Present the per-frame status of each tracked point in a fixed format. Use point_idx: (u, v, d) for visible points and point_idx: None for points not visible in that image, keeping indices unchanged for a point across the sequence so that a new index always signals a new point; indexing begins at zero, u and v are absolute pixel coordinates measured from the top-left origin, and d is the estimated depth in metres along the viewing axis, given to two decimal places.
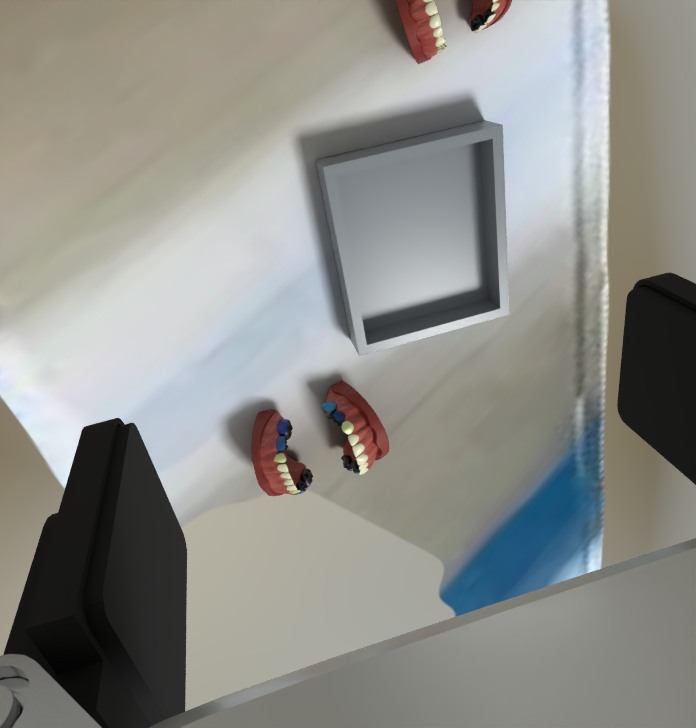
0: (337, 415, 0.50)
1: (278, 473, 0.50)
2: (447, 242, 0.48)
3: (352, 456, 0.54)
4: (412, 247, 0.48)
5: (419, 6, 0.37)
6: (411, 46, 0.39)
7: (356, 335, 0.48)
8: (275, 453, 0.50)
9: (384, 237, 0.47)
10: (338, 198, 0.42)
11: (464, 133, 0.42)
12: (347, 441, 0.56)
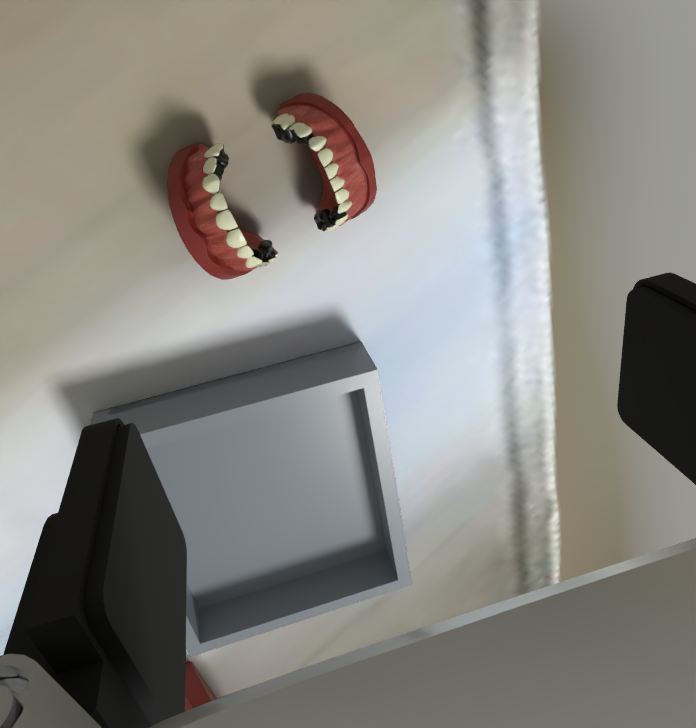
0: None
1: None
2: (318, 495, 0.33)
3: None
4: (265, 507, 0.33)
5: (207, 215, 0.22)
6: (205, 269, 0.23)
7: None
8: None
9: (219, 500, 0.32)
10: None
11: (317, 384, 0.27)
12: None
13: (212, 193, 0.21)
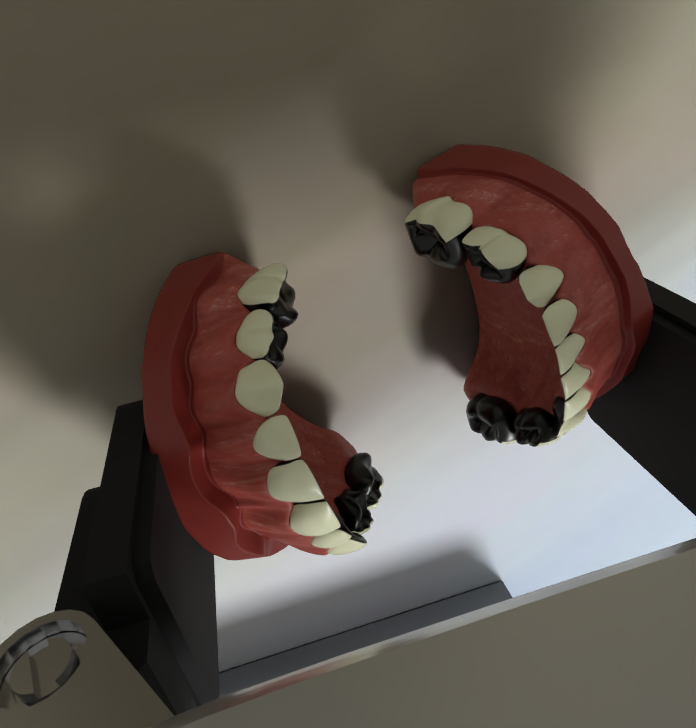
0: None
1: None
2: None
3: None
4: None
5: (243, 465, 0.08)
6: (229, 558, 0.10)
7: None
8: None
9: None
10: None
11: None
12: None
13: (261, 415, 0.08)
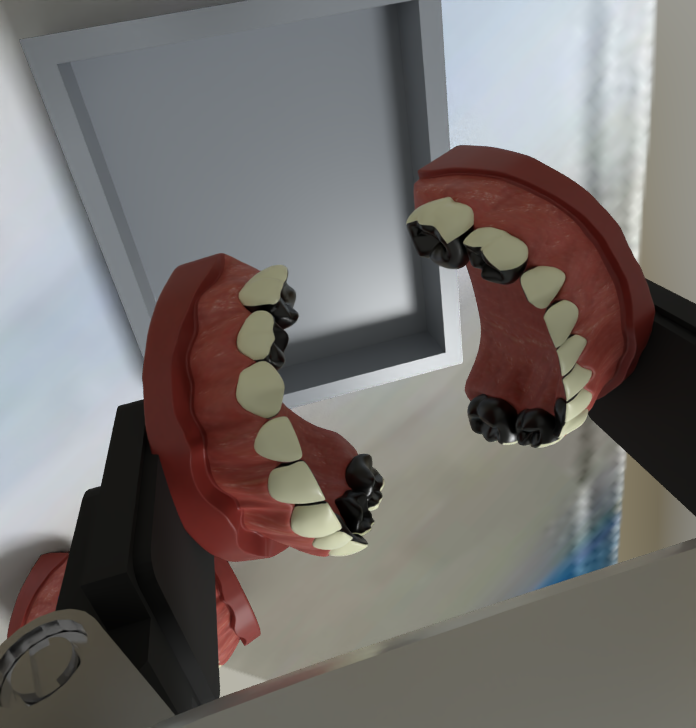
0: None
1: None
2: (344, 227, 0.25)
3: None
4: (276, 236, 0.25)
5: (244, 467, 0.08)
6: (230, 560, 0.10)
7: None
8: None
9: (215, 214, 0.24)
10: (72, 118, 0.19)
11: None
12: None
13: (262, 416, 0.08)
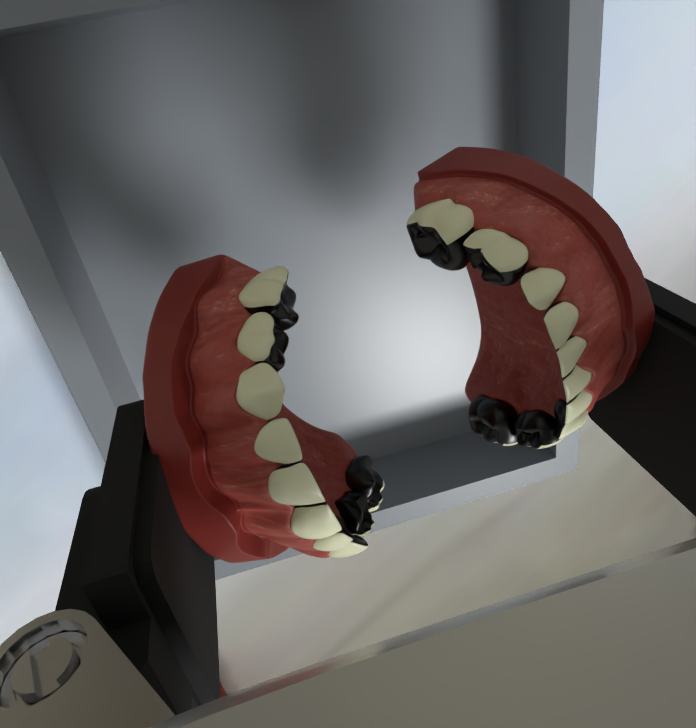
0: None
1: None
2: (415, 284, 0.17)
3: None
4: (316, 300, 0.17)
5: (244, 468, 0.08)
6: (230, 561, 0.10)
7: None
8: None
9: None
10: None
11: None
12: None
13: (262, 418, 0.08)
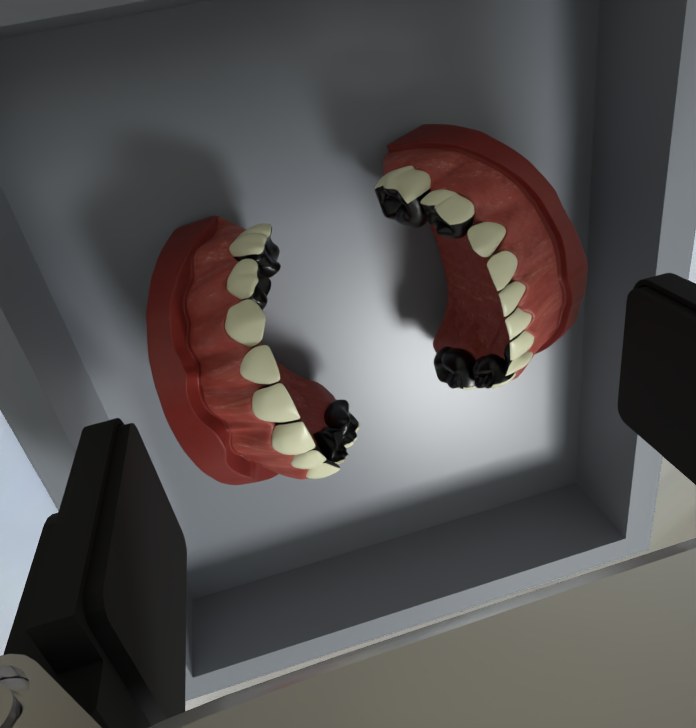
0: None
1: None
2: None
3: None
4: (347, 359, 0.14)
5: (231, 390, 0.10)
6: (220, 480, 0.11)
7: None
8: None
9: None
10: None
11: None
12: None
13: (247, 345, 0.09)
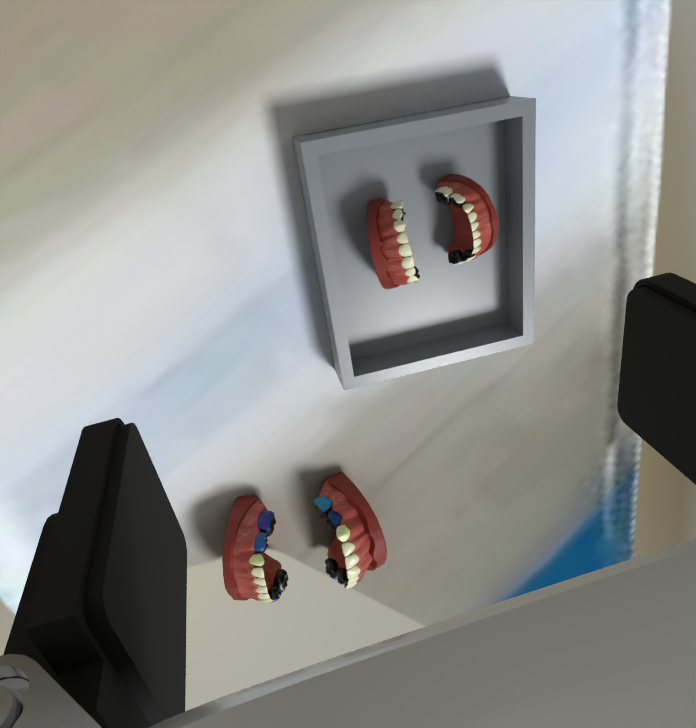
0: (333, 516, 0.42)
1: (251, 577, 0.41)
2: None
3: (339, 562, 0.46)
4: (415, 256, 0.38)
5: (392, 245, 0.33)
6: (380, 280, 0.35)
7: (341, 365, 0.37)
8: (251, 553, 0.41)
9: None
10: (320, 185, 0.32)
11: (486, 107, 0.32)
12: (334, 541, 0.47)
13: (399, 232, 0.33)
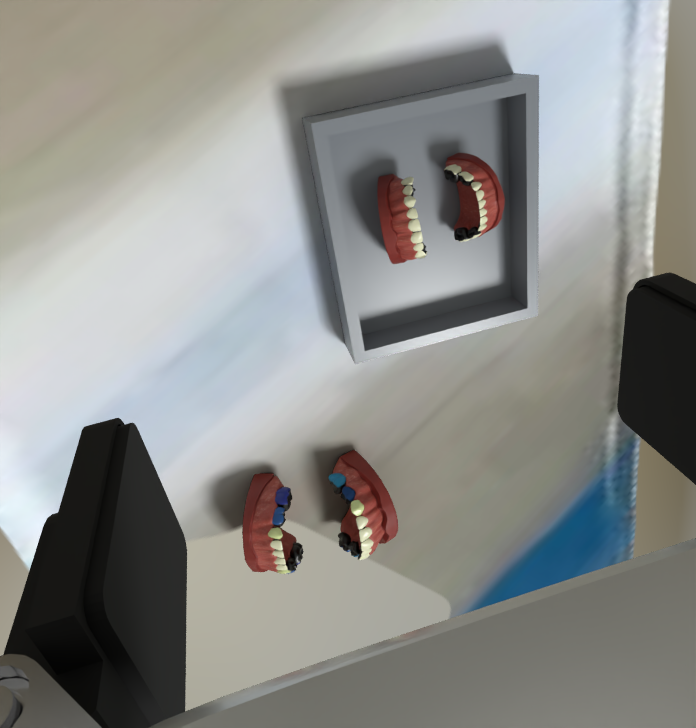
0: (347, 491, 0.44)
1: (270, 550, 0.43)
2: None
3: (351, 535, 0.48)
4: (422, 232, 0.39)
5: (402, 220, 0.34)
6: (389, 254, 0.36)
7: (352, 339, 0.39)
8: (270, 526, 0.43)
9: None
10: (330, 165, 0.33)
11: (490, 85, 0.33)
12: (347, 516, 0.49)
13: (409, 207, 0.34)
